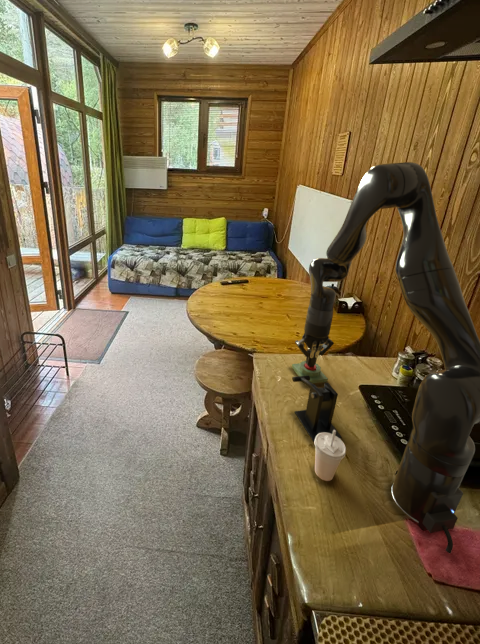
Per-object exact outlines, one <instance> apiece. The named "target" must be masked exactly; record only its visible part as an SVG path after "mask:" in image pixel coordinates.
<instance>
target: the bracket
mask: <svg viewBox="0 0 480 644" xmlns="http://www.w3.org/2000/svg"><path fill="white" fill-rule="evenodd" d="M317 387H318V386H317V385H316V383H312V384H311V386H310V388H309V392H308V397H307V403H306V408H305V409H302V410H295V411H294V414H295V416H296V417H297V419H298V420H299V422H300V424H301V425H302V427H303V428H304V430H305V431H306V433H307V434H308V436H309V438H310V439H311V441H312V442H313V443H314V441H315V438H316V436H317V435H318V434H319V433H323V432H326V433H331V434H333V430H336V434H335V436H337V437H338V438H340V439H342V436H341V435H342V434H340V433H339V431H338V430H337V429H336V427H335V426H334V425H333V423H332V422H333V417H334V414H335V409H336V405H337V401H338V396H339V393H338V392H337V391H336V390H335V389H334V387H333V386H332V385H331V384H330V383H329V382H324V385H323V388H325V389H326V390H328V391H329V392H330V401H325V402H322V401H323V396H324V395H323V394H322V393H321V392H320V390H319V389H318V388H319V387H318V388H317Z"/></svg>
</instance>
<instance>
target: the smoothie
mask: <svg viewBox="0 0 480 644" xmlns="http://www.w3.org/2000/svg"><path fill="white" fill-rule="evenodd" d="M336 430H337V429H336ZM336 430H333V434H331V433H326V432H323V433H319V434H318V435H317V436H316V438H315V441H314V442H313V444H314V447H315V450H314V451H315V453H314V455H315V456H314V472H315V474H316V476H317V477H318V478H319V479H321V480H322V481H325V482H330V481H332V480H333V479H334V476H335V474H336V472H337V470H338V468H339V466H340V464H341V461H342V460H343V459H344V458H345V457H346V454H347V448H346V444H345V443H344V441H343V440H342V438H338V437H337V436H335V434H336Z"/></svg>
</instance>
